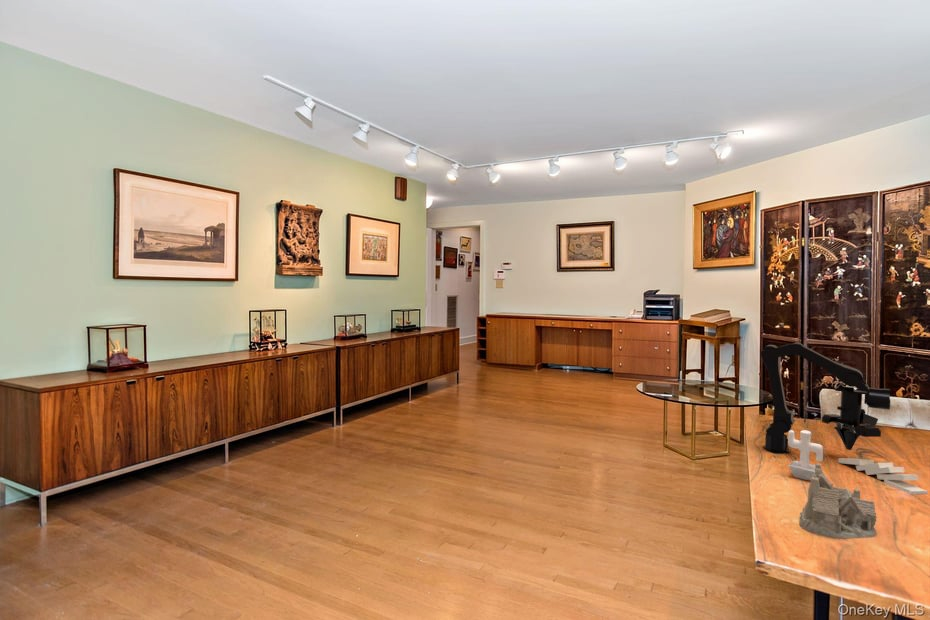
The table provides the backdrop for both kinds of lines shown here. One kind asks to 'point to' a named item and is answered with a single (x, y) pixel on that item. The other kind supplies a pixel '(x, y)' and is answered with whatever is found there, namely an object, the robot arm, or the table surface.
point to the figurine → (804, 455)
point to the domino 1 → (855, 461)
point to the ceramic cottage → (836, 511)
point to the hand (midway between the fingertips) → (848, 449)
